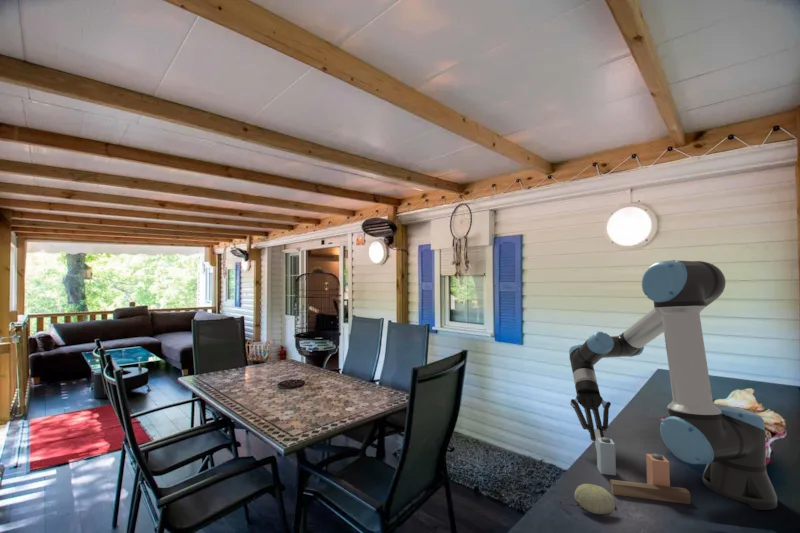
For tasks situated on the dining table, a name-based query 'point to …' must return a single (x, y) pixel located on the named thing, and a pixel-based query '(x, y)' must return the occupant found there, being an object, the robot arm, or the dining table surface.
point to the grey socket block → (606, 456)
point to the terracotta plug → (657, 470)
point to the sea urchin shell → (594, 499)
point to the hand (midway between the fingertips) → (600, 451)
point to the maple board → (650, 491)
